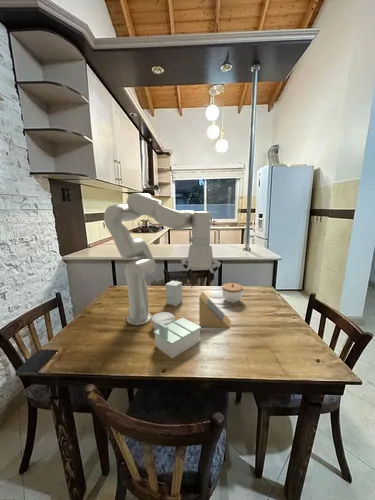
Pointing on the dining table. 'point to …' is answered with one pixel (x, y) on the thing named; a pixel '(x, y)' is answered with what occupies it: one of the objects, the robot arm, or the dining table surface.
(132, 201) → the robot arm
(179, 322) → the lid
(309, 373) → the dining table surface
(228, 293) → the lidded bowl
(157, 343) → the box
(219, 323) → the sandwich container
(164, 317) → the ramekin
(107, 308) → the dining table surface
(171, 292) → the supplement box
